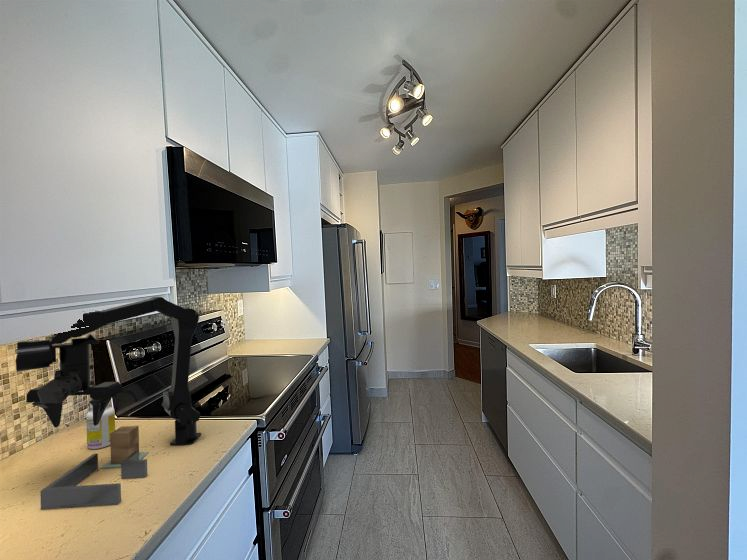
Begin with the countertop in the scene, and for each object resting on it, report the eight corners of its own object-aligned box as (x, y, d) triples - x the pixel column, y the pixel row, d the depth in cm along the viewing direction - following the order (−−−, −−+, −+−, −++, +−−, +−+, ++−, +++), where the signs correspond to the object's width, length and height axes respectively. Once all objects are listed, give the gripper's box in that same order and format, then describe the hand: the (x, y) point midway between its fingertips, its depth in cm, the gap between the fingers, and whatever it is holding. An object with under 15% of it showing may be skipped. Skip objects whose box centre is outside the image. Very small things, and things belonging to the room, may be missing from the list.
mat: (118, 454, 96) (118, 453, 96) (148, 453, 96) (148, 452, 96) (100, 468, 89) (100, 467, 89) (133, 466, 89) (133, 465, 89)
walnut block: (122, 455, 95) (121, 426, 95) (139, 454, 95) (138, 425, 95) (110, 464, 90) (110, 433, 90) (129, 463, 91) (128, 433, 90)
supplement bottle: (112, 437, 107) (111, 395, 107) (118, 443, 103) (117, 400, 102) (84, 445, 102) (83, 402, 101) (90, 452, 97) (88, 407, 97)
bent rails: (94, 469, 89) (93, 453, 89) (157, 465, 90) (156, 450, 90) (40, 509, 73) (40, 490, 73) (118, 504, 74) (117, 485, 74)
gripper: (2, 373, 78) (4, 443, 78) (91, 370, 79) (92, 439, 79) (45, 361, 89) (47, 422, 89) (122, 359, 90) (123, 419, 90)
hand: (76, 425), depth 86 cm, fingers open, 9 cm apart
